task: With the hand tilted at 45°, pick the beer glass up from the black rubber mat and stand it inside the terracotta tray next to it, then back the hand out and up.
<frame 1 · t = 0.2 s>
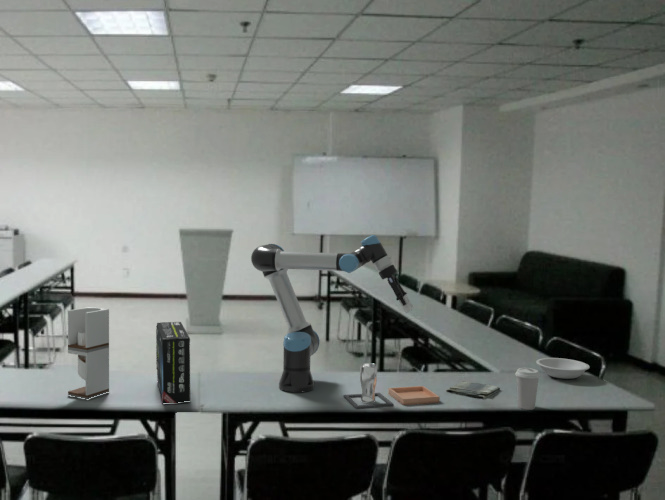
hand: (410, 310, 274), 35 cm above the table, tool tilted 30°, fingers open, 13 cm apart
beer glass: (367, 401, 256), resting in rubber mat
router box: (172, 392, 264), on the table
dish towel: (473, 392, 274), on the table
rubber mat: (367, 401, 256), on the table
soup bowl: (561, 377, 301), on the table
coffee cup: (526, 407, 253), on the table
terracotta tray: (413, 398, 262), on the table
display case: (88, 395, 257), on the table
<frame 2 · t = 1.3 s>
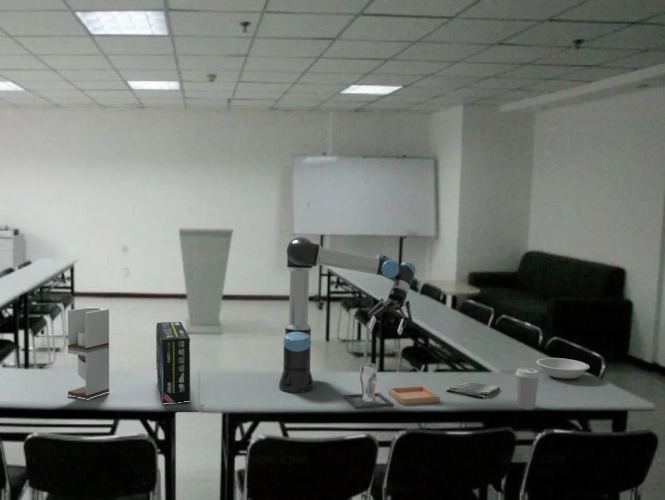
hand: (384, 331, 268), 26 cm above the table, tool tilted 45°, fingers open, 13 cm apart
nothing on the table moved.
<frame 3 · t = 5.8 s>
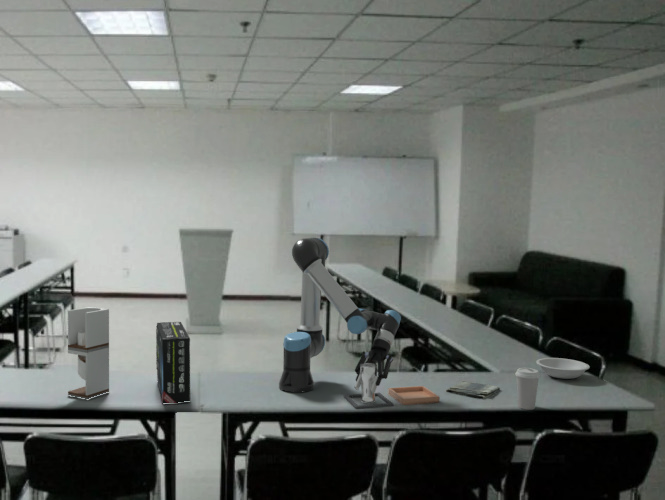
hand: (364, 390, 253), 5 cm above the table, tool tilted 45°, fingers closed on beer glass, 6 cm apart
beer glass: (367, 401, 256), resting in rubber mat, touching gripper
everything else where it was.
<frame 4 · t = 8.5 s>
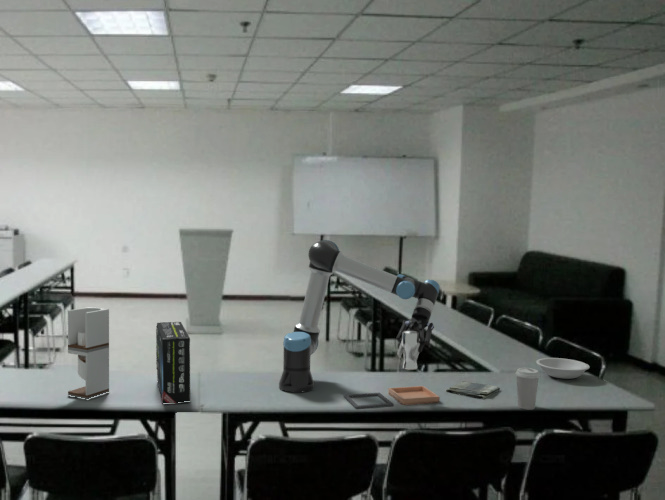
hand: (406, 356, 257), 18 cm above the table, tool tilted 45°, fingers closed on beer glass, 6 cm apart
beer glass: (410, 368, 260), point 13 cm above the table, touching gripper
everything else where it was.
when the fingers open (8 cm above the table, at t = 11.4 s): beer glass drops 1 cm, resting on terracotta tray.
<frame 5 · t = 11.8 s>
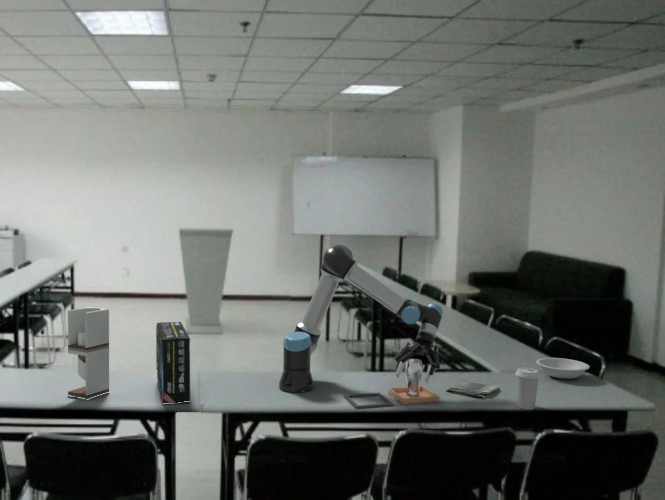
hand: (411, 378, 259), 9 cm above the table, tool tilted 45°, fingers open, 12 cm apart
beer glass: (412, 396, 262), point 1 cm above the table, touching terracotta tray
everything else where it was.
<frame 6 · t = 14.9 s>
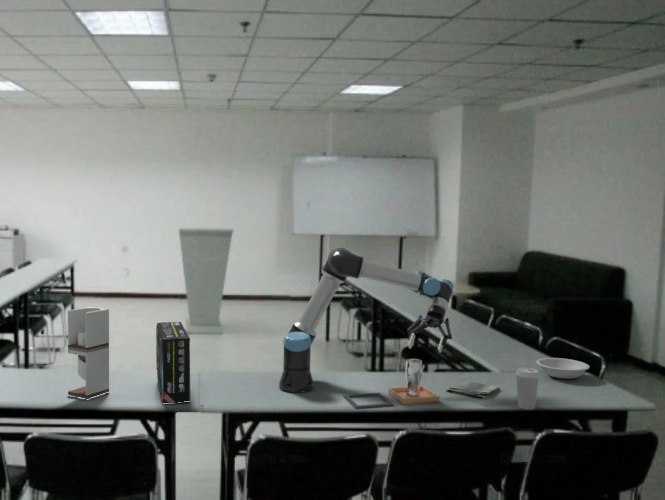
hand: (424, 348, 270), 19 cm above the table, tool tilted 45°, fingers open, 13 cm apart
nothing on the table moved.
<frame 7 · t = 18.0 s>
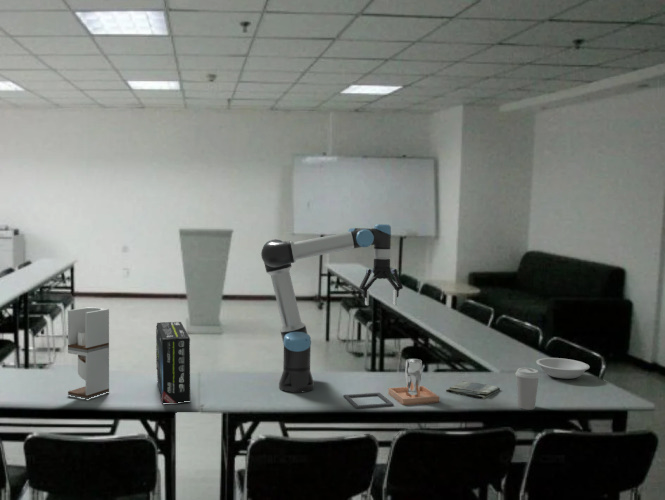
hand: (380, 304, 287), 35 cm above the table, tool pointing down, fingers open, 13 cm apart
nothing on the table moved.
at the end: beer glass inside the target area on the terracotta tray (0.1 cm from its centre), point 0.6 cm above the terracotta tray's base; beer glass tilted 0°; the gripper is holding nothing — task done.
